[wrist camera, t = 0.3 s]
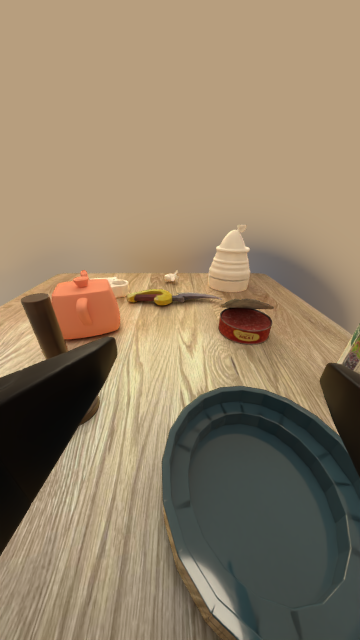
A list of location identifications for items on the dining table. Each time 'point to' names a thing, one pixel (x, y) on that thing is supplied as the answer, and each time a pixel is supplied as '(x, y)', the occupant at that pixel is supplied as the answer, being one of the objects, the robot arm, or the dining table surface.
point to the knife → (164, 296)
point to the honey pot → (230, 264)
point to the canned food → (245, 321)
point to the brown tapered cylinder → (49, 332)
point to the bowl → (263, 517)
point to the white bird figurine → (171, 277)
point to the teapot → (85, 307)
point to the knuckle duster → (118, 286)
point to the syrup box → (352, 353)
